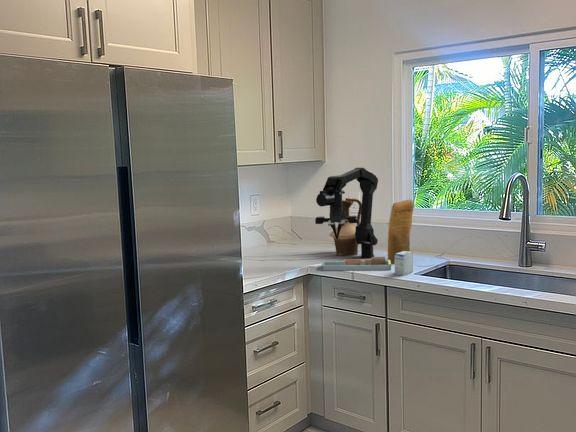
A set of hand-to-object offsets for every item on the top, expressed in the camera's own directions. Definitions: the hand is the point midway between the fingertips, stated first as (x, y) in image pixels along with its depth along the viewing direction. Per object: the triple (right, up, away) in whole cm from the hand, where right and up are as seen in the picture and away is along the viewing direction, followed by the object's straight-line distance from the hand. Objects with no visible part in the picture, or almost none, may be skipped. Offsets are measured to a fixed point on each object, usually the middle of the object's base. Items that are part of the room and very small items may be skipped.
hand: (336, 238), depth 260 cm
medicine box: (+26, -14, -21) cm, 36 cm away
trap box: (+8, -12, -5) cm, 15 cm away
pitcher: (+7, -9, +27) cm, 29 cm away
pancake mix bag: (+29, -11, +4) cm, 32 cm away
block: (+17, -13, -8) cm, 23 cm away
